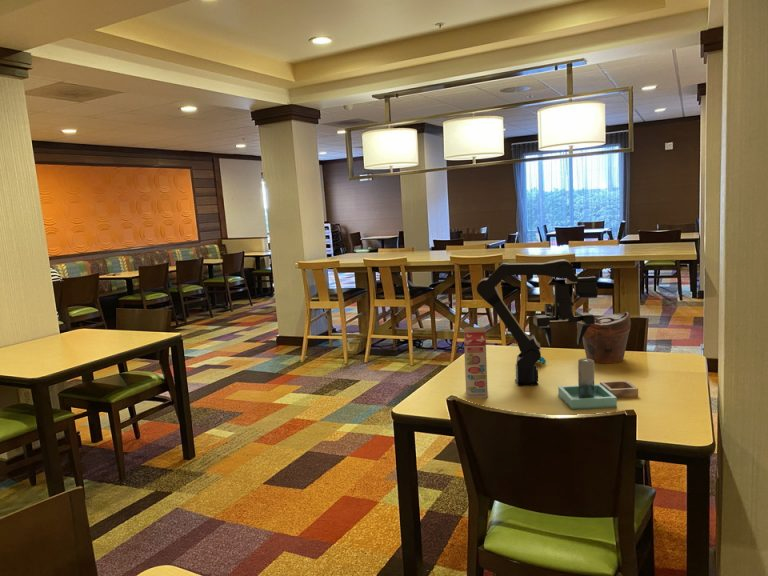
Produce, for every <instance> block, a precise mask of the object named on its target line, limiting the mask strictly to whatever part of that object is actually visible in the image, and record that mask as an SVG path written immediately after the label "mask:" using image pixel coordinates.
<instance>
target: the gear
mask: <svg viewBox="0 0 768 576" xmlns="http://www.w3.org/2000/svg"><path fill="white" fill-rule="evenodd" d="M538 362H541V363H543V364H546V363H547V361H546V359H545V357H544V356H541V357H540V359H539V360H538Z"/></svg>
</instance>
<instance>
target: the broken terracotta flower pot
mask: <svg viewBox="0 0 768 576" xmlns="http://www.w3.org/2000/svg"><path fill="white" fill-rule="evenodd" d="M594 316H595V324H591V327H588V329H587V330H586V332H585V334H584V336H583V338H582V343H583V348H584V353H585V357H586V358H585V359H592V360H594V363H600V364H615V363H620V362H623V360H624V359H625V354H626V348H627V343H628V339H629V335H630V330H631V325H632V322H631V316H630V313H629V312H627V311H623V312H619V313H614V314H613V313H612V314H607V315H601V316H599V315H594ZM576 328H577V330H578V327H577V326H576Z"/></svg>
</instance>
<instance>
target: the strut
mask: <svg viewBox="0 0 768 576" xmlns="http://www.w3.org/2000/svg"><path fill="white" fill-rule="evenodd" d="M577 362H578V363H577V367H578V368H577V369H578V371H577V374H578V377H577V380H578V384H577V385H578V398H594V384H595V362H594V360H592V359H587V358H579V359H578V361H577Z"/></svg>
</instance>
